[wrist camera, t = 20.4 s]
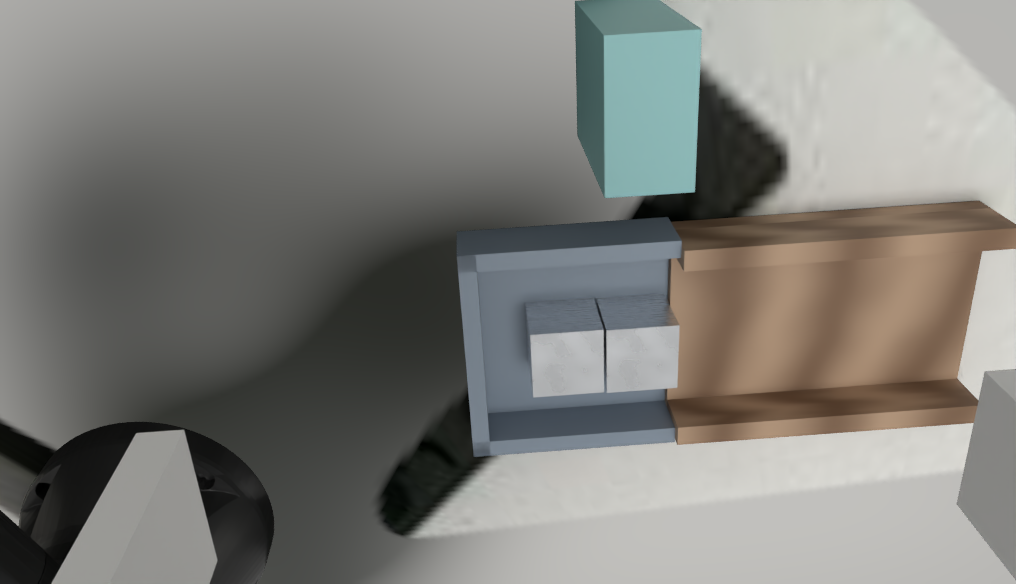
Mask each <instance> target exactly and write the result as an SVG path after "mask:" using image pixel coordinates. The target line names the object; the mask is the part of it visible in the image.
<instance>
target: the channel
mask: <svg viewBox="0 0 1016 584" xmlns="http://www.w3.org/2000/svg"><path fill="white" fill-rule="evenodd" d="M671 223H672V225H673V227H674V228H675V230H676V232H677V233H678V235H679V237H680V238H681V240H682V251H681V258H672V259H669V264H668V299H667V300H668V302H669V304H670V307H671V309H672V311H673V313H674V315H675V317H676V319H677V321H678V323H679V325H680V326H679V354H678V382H677V388H668V389H665V403H666V405H667V408H668V411H669V413H670V416H671V418H672V421H673V424H674V426H675V439H676V442H677V445H681V444H694V443H708V442H721V441H735V440H748V439H762V438H775V437H789V436H802V435H816V434H829V433H843V432H856V431H870V430H883V429H897V428H910V427H924V426H937V425H951V424H964V423H974V420H975V415H976V411H977V406H978V400H977V399H976V398H975V397H974V396H973V395H972V394H971V393H970V392H969V390H968V389H967V388H966V387H965V386H964V385H963V384H962V383H961V382H960V381H959V380H958V379H957V376H958V371H959V366H960V361H961V356H962V351H963V346H964V341H965V335H966V330H967V325H968V320H969V315H970V310H971V305H972V300H973V295H974V290H975V285H976V280H977V274H978V269H979V264H980V259H981V254H982V251H989V250H1003V249H1016V224H1014V223H1013V222H1011V221H1010V220H1008V219H1007V218H1005V217H1004V216H1002V215H1000V214H999V213H997V212H996V211H994V210H993V209H991V208H990V207H988V206H987V205H985V204H983V203H982V202H980V201H969V202H954V203H939V204H925V205H910V206H896V207H881V208H866V209H852V210H837V211H822V212H808V213H793V214H778V215H764V216H749V217H735V218H720V219H705V220H691V221H676V222H671Z"/></svg>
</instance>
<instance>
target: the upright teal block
mask: <svg viewBox="0 0 1016 584" xmlns="http://www.w3.org/2000/svg"><path fill="white" fill-rule="evenodd" d="M575 25H576V27H575V28H576V79H577V80H576V81H577V129H578V130H577V132H578V133H577V134H578V138H579V140H580V142H581V144H582V147H583V149H584V151H585V154H586V156H587V158H588V161H589V163H590V165H591V168H592V170H593V172H594V175H595V177H596V179H597V181H598V184H599V186H600V188H601V191H602V193H603V195H604V197H605V198H614V197H629V196H644V195H659V194H674V193H689V192H695V176H696V152H697V128H698V104H699V80H700V56H701V32H702V29H700V28H699V27H698V26H696V25H695V24H693V23H692V22H690V21H689V20H687V19H686V18H684V17H683V16H682V15H680V14H679V13H677V12H676V11H674V10H673V9H671V8H670V7H668V6H667V5H666V4H664V3H663V2H661V1H660V0H584V1H575Z"/></svg>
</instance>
